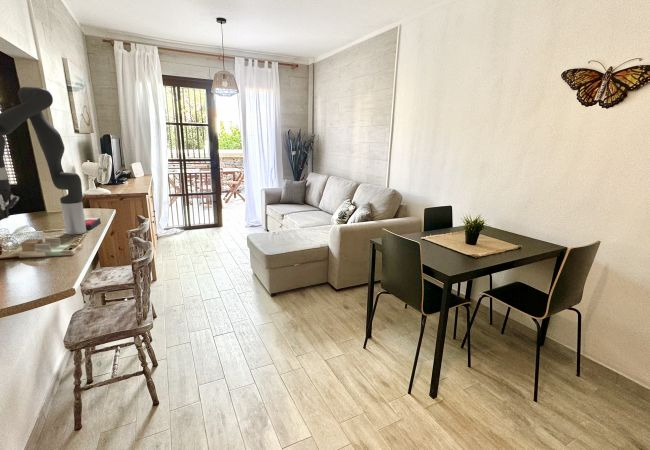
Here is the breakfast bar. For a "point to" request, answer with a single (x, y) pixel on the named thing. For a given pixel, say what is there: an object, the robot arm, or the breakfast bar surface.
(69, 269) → the breakfast bar surface
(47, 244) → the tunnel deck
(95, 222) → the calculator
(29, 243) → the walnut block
